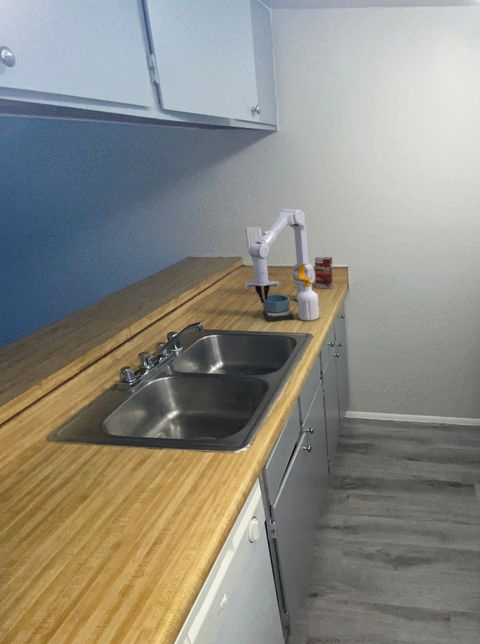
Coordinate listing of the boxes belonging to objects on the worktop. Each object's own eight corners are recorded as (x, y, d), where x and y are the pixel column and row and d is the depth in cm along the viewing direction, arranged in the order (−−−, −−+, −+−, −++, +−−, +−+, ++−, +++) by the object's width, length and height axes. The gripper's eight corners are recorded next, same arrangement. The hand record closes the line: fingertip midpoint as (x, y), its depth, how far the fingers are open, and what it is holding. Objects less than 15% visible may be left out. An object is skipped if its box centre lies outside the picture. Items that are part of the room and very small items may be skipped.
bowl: (261, 305, 216) (261, 294, 214) (286, 304, 220) (286, 294, 218) (265, 313, 207) (265, 302, 205) (291, 312, 211) (291, 301, 209)
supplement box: (315, 288, 256) (314, 258, 248) (318, 285, 260) (316, 256, 252) (331, 288, 254) (330, 259, 247) (333, 286, 259) (332, 257, 251)
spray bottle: (311, 322, 207) (307, 265, 195) (294, 318, 211) (290, 263, 199) (322, 316, 214) (320, 261, 202) (306, 313, 218) (303, 259, 206)
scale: (263, 313, 218) (263, 307, 216) (287, 310, 221) (286, 305, 220) (268, 322, 207) (268, 316, 206) (293, 319, 211) (292, 313, 209)
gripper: (243, 274, 200) (246, 305, 207) (277, 273, 203) (280, 304, 209) (244, 270, 207) (248, 301, 213) (277, 269, 209) (280, 299, 215)
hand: (264, 302), depth 211 cm, fingers closed on bowl
